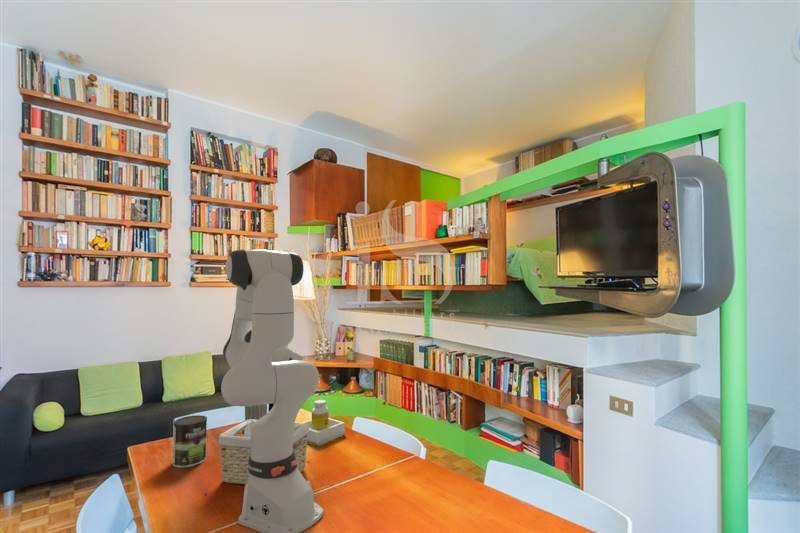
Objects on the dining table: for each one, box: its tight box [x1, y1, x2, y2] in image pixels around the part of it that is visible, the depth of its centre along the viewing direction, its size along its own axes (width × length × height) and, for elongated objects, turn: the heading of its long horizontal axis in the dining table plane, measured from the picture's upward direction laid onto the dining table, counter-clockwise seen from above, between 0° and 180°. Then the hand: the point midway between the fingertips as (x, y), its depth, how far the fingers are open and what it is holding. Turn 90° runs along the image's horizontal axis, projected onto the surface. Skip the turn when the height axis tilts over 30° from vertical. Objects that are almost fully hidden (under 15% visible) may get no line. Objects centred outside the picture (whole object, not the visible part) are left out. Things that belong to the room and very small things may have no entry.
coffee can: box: [172, 414, 208, 469], centre depth 136 cm, size 10×10×14 cm
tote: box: [300, 417, 346, 447], centre depth 157 cm, size 14×14×5 cm
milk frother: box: [241, 403, 274, 423], centre depth 163 cm, size 14×16×15 cm
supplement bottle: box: [311, 399, 329, 431], centre depth 157 cm, size 7×7×13 cm
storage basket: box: [217, 419, 309, 485], centre depth 125 cm, size 24×16×15 cm
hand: (300, 378), depth 150 cm, fingers open, 8 cm apart
